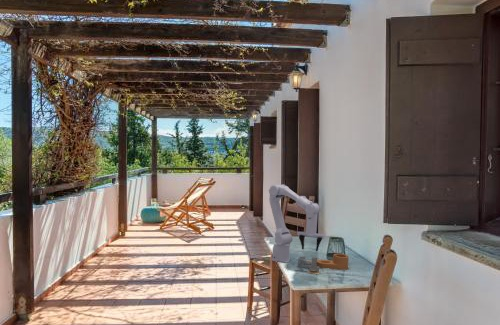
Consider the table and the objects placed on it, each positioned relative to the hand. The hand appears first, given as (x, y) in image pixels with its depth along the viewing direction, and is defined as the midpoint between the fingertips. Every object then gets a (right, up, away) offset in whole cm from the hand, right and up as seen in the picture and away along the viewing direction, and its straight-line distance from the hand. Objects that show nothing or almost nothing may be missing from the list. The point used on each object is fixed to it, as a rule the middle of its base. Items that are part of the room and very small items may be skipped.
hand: (309, 250), depth 218 cm
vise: (-1, -10, 0) cm, 10 cm away
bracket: (+13, -11, +5) cm, 17 cm away
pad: (+1, -10, -8) cm, 13 cm away
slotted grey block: (+1, -10, -8) cm, 13 cm away
